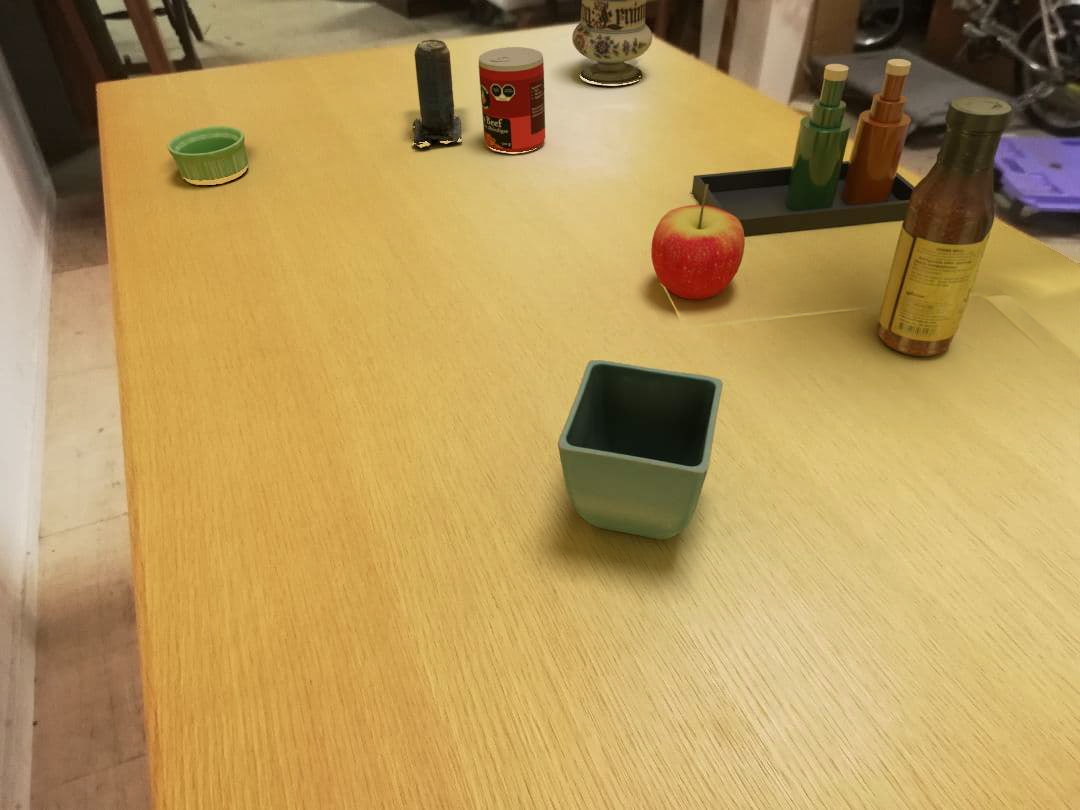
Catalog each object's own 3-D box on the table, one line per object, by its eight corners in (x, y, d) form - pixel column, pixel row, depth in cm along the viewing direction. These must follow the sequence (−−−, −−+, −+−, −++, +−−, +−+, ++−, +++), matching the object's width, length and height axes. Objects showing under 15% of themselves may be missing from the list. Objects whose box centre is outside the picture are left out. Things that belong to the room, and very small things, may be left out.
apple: (743, 274, 76) (759, 177, 70) (728, 322, 70) (744, 220, 64) (660, 262, 78) (668, 166, 72) (639, 306, 72) (645, 207, 66)
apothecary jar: (644, 92, 116) (652, -46, 105) (565, 88, 119) (564, -47, 107) (654, 66, 125) (662, -63, 113) (580, 63, 127) (581, -64, 116)
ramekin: (241, 153, 103) (232, 120, 100) (262, 176, 97) (253, 142, 94) (171, 170, 99) (159, 136, 97) (188, 196, 94) (176, 160, 91)
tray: (874, 177, 92) (879, 157, 90) (924, 221, 83) (931, 200, 82) (691, 195, 90) (693, 175, 88) (723, 242, 81) (726, 220, 80)
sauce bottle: (967, 349, 66) (1061, 113, 53) (907, 368, 64) (990, 129, 52) (912, 310, 71) (986, 84, 58) (855, 326, 69) (919, 98, 56)
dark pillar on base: (472, 144, 103) (463, 48, 95) (414, 152, 101) (400, 55, 94) (458, 120, 110) (449, 28, 102) (403, 128, 108) (390, 35, 100)
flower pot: (692, 572, 49) (708, 472, 44) (557, 545, 51) (555, 445, 46) (708, 475, 56) (724, 376, 50) (587, 454, 58) (589, 357, 52)
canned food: (476, 139, 104) (469, 52, 97) (531, 128, 107) (528, 43, 99) (497, 160, 99) (491, 69, 92) (555, 148, 101) (553, 59, 94)
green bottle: (820, 192, 88) (849, 57, 79) (840, 212, 85) (873, 73, 75) (778, 196, 88) (802, 61, 79) (796, 216, 84) (823, 77, 75)
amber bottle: (875, 186, 89) (910, 52, 80) (896, 206, 85) (936, 67, 76) (833, 190, 89) (863, 56, 79) (853, 210, 85) (887, 71, 75)
